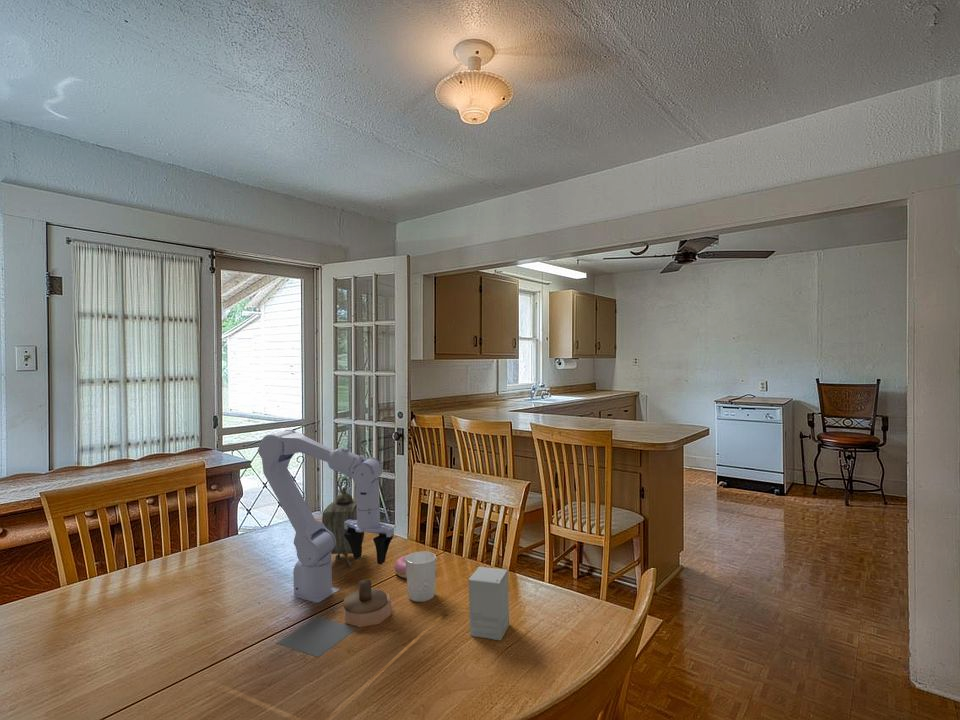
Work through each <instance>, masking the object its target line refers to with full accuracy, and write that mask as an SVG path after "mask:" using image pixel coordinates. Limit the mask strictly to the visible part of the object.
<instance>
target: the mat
mask: <svg viewBox="0 0 960 720" xmlns="http://www.w3.org/2000/svg"><path fill="white" fill-rule="evenodd" d="M357 629H358V628H357V627H356V626H355V627H354V626H353V625H349V624H346V623H341V622H338V621H334V620H332V619H328V618H323V617H321V616H317V617H315V618H313V619H311V620H310V621H309V622H307V623H305V624H303V625H302V626H301V627H299V628H298V629H296V630H295V631H293V632H291V633H290V634H288V635H286V636H285V637H284V638H282V639H280V640H278V641H277V642H276V644H277V645H281V646H284V647H285V648H289V649H292V650H295V651H298V652H302V653H303V654H307V655H310V656H312V657H315V658H319V657H321V656H322V655H323V654H325V653H326V652H328V651H329V650H331V648H333V647H335V646H336V645H337V644H338V643H340V642H341V641H343V639H345V638H346V637H348V636H349V635H350V634H352V633H354V631H356V630H357Z"/></svg>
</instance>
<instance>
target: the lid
mask: <svg viewBox="0 0 960 720" xmlns="http://www.w3.org/2000/svg"><path fill="white" fill-rule="evenodd" d="M386 603H387V595H386V592H384V591H383V590H381V589H377V588H372V580H370V579H365V578H364V579H362V580H360V581H359V582H358V590H356V591H353V592H352V593H350V594H348V595H346V596H345V597H344V599H343V610H344V609H345V610H346V611H348V612H350V613H354V614H365V613H371V612H374V611H377V610H379V609H381V608H382V607H384V606H385V604H386Z"/></svg>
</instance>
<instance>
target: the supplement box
mask: <svg viewBox="0 0 960 720" xmlns="http://www.w3.org/2000/svg"><path fill="white" fill-rule="evenodd" d="M509 597H510V595H509V572H508V569H504V568H503V569H502V568H495V567H494V568H493V567H486V566H478V567H477V568H476V569H475V571H473V574H472V575H471V576H470V577H469V579H468V601H469V603H468V605H469V606H468V607H469V611H468V612H469V632H470V633H469V634H470V636H471V637H477V638H484V639H490V640H495V641H500V642H501V641H502V639H503V637H504V635H505V634H506V631H507V630H508V628H509V625H510V604H509V603H510V599H509Z"/></svg>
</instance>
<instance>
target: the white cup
mask: <svg viewBox="0 0 960 720" xmlns="http://www.w3.org/2000/svg"><path fill="white" fill-rule="evenodd" d="M406 555H407V554H406ZM436 555H437V554H435V553H433V552H431V551H425V550H423V551H414V552H411V553H409V555H407V556H406V558H405V561H406V576H407V578H406V583H407V585H406V586H407V595H408V598H409V600H411V601H413V602H418V603H419V602H420V603H422V602H427V601H430V600H432V599H433V598H434V597H435V595H436V594H435V593H436V576H437V575H436V574H437V556H436Z"/></svg>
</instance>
